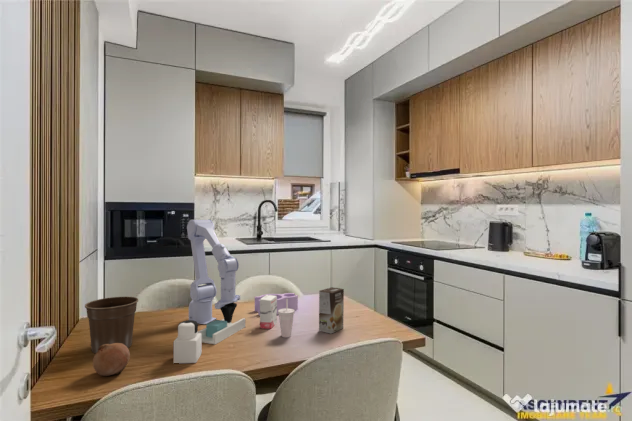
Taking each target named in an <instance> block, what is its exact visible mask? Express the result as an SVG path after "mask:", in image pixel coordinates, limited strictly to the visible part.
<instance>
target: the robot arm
mask: <svg viewBox="0 0 632 421" xmlns="http://www.w3.org/2000/svg"><path fill="white" fill-rule="evenodd" d="M186 230H187V238H188V240H189V241H190V245H191V252H192V254H191V255H192V260H193V261H192V262H193V268H194V273H195V274H194V276H195V279H194V280H193V281H192V283H190V290H189V296H190V298H191V301H190V302H189V304H188V320H193V321H196V322H197V323H198V325H206V324H208V323H211V322H213V321H215V320H217V317H213V300H215V297H216V296H217V293H218V292H217V286H216V284H215V280H214V279H212V278H211V277H209V274H208V266H207V258H206V252H205V246H204V245H205V244H204V241H205V240H206V241H207V242H208V243H209V245H210V246H211V253H212V256H214V258H215V260H216V262H217V263H218V264H217V270H218V273H219V277H220V299H219V300H218V301H217V302H215V303H214V309H215V310H220V311H221V313H222V316H223V319H224V320H225V321H227V323H230V322H231V323H232V320H233V317H234V313H235V310H236V308H237V306H238V304H237V302H238V301H241V295H240V294H236V285H237V284H236V280H237V278H236V273H237V271H238V269H239V268H240V267H239V265H240V264H239V260H238V258H237V257H234V256H233V255H231V253H230V251H229V250H228V249H227V247H226V245H225V244H224V243H221V242H220V240H219V238H218V236H217V234H216V232H215V224H214V221H213V220H212V219H211V218H207V219H189V221H188V222H187V225H186Z"/></svg>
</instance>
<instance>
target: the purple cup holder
mask: <svg viewBox="0 0 632 421" xmlns="http://www.w3.org/2000/svg"><path fill="white" fill-rule="evenodd" d="M265 295H273V296H277V316H279V314H278V310H280V309H284V308H286V299H288V308H290V309H293V310H294V311H295V312H296V311H298V310H299V295H298V294H296V293H294V292H285V293H266V294H261V295H259V296H254V312H258V313H257V315H258V316H260V299H261V298H263V297H264V296H265Z"/></svg>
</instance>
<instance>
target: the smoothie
mask: <svg viewBox="0 0 632 421" xmlns="http://www.w3.org/2000/svg"><path fill="white" fill-rule="evenodd" d="M295 313H296V311H294V310H293V309H290V308H288V299H286V308H284V309H280V310H278V316H279V317H278V318H279V326H280V333H281V334H280V336H281V337H283V338H291V337H292V333H293V332H292V331H293V322H294V316H295V315H294V314H295Z"/></svg>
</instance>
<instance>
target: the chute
mask: <svg viewBox="0 0 632 421" xmlns="http://www.w3.org/2000/svg"><path fill="white" fill-rule="evenodd" d="M221 320H222V321H225V320H224V318H222V319H221ZM245 328H246V318H245V317H243V318H241V319H238V320H236V321H235V322H233V323H232V321H231V322H230V323H227V327H225V328H224V329H222V330H220V331H218V332H216V333H214V334H213V337H206V327H204V328H202V329H200V330H198V333H201V334H202V343H204V344H208V345H209V344H210V345H217V344H219V343H220V342H222V341H223V340H225V339H228V338H229V337H230V336H232V335H234V334H236V333H238V332H239V331H241V330H243V329H245Z"/></svg>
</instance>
